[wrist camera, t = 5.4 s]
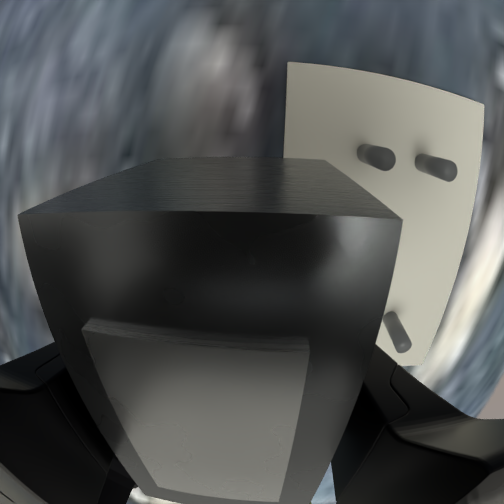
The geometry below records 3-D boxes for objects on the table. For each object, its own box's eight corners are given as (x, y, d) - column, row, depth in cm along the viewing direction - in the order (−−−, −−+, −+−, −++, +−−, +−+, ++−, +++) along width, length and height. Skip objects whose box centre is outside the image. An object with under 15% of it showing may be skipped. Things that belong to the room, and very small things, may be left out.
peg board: (418, 357, 24) (434, 391, 20) (268, 357, 25) (265, 397, 21) (476, 104, 15) (514, 105, 11) (287, 65, 16) (290, 46, 12)
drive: (300, 384, 12) (304, 517, 6) (184, 376, 12) (144, 498, 7) (324, 159, 9) (407, 224, 3) (158, 158, 9) (10, 218, 3)
